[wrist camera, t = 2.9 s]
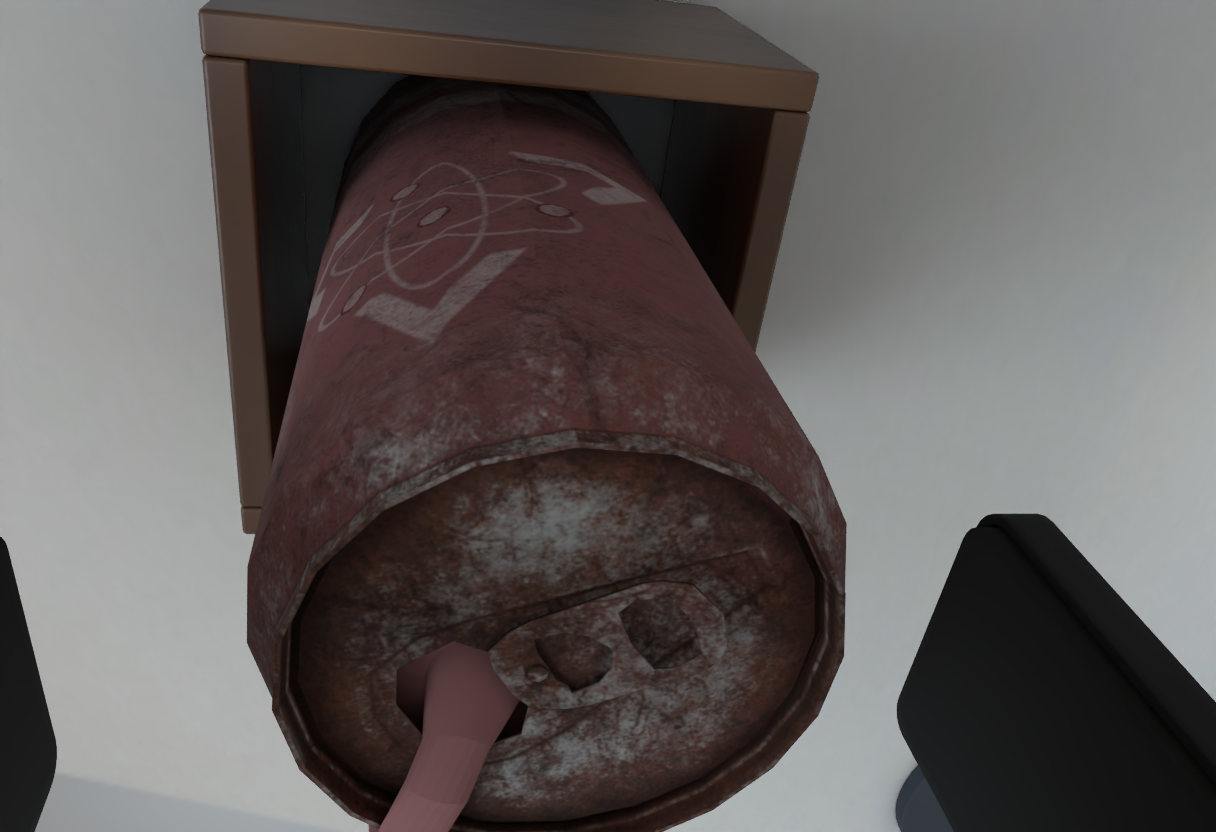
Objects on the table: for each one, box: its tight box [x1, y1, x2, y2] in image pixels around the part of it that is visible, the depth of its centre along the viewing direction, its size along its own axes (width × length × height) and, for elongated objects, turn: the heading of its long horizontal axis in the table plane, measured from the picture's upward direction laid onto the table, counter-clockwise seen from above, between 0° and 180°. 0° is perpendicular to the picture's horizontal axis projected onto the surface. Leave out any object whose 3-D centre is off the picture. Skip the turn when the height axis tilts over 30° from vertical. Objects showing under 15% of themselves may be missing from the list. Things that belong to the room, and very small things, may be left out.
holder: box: [198, 0, 819, 534], centre depth 18 cm, size 9×9×6 cm
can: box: [247, 75, 846, 832], centre depth 15 cm, size 6×6×14 cm
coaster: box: [896, 766, 954, 832], centre depth 35 cm, size 8×8×1 cm
